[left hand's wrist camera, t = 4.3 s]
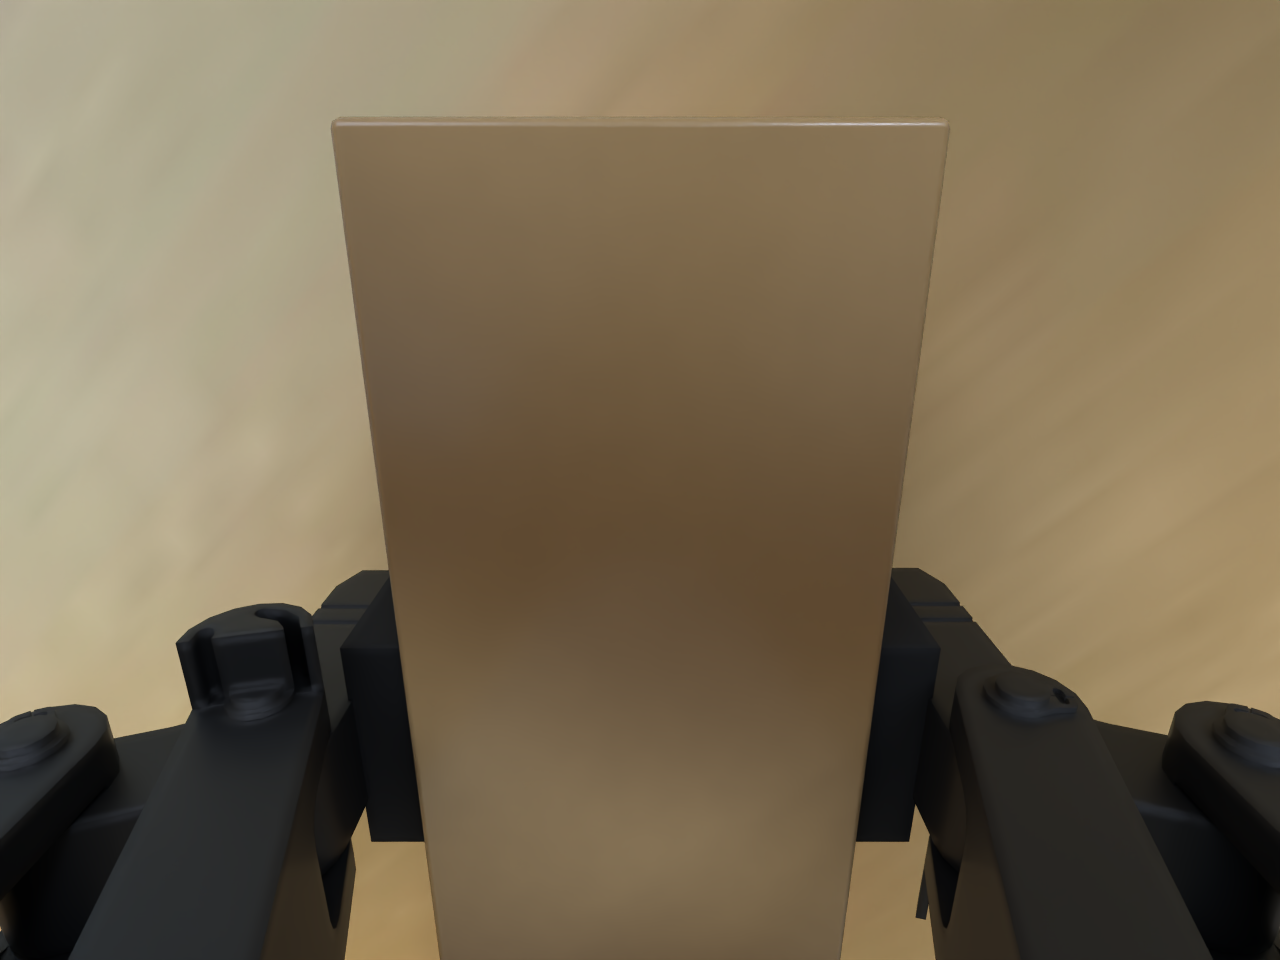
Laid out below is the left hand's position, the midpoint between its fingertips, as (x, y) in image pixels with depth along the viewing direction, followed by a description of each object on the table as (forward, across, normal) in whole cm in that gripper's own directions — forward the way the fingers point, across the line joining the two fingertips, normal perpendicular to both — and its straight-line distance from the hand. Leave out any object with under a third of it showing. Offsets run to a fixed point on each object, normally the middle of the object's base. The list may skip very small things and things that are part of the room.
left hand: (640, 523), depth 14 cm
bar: (0, 0, -29) cm, 29 cm away
